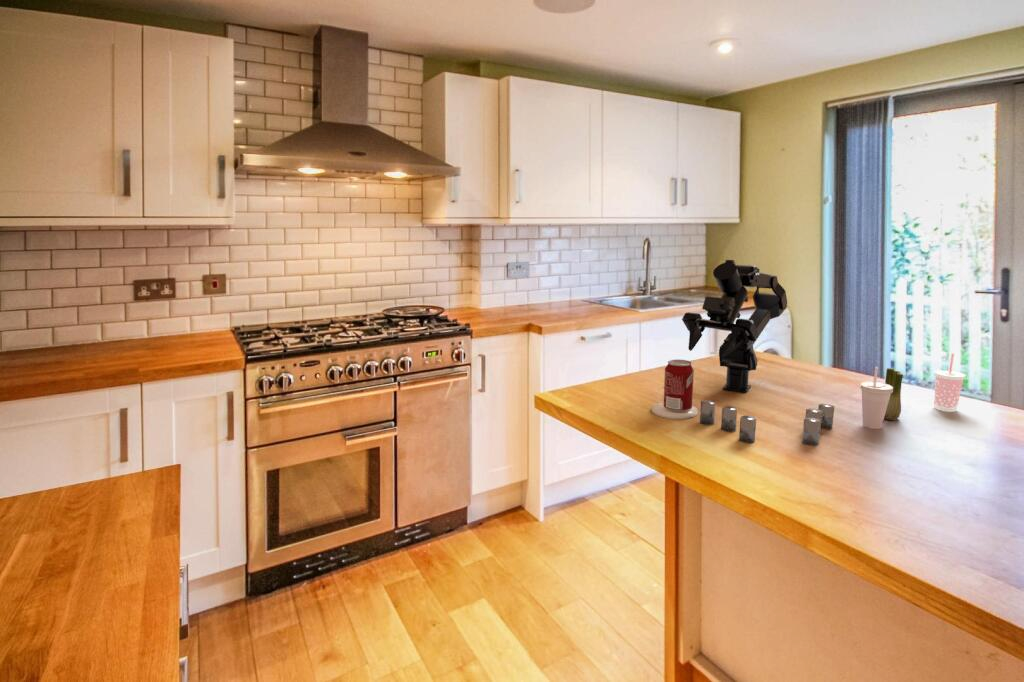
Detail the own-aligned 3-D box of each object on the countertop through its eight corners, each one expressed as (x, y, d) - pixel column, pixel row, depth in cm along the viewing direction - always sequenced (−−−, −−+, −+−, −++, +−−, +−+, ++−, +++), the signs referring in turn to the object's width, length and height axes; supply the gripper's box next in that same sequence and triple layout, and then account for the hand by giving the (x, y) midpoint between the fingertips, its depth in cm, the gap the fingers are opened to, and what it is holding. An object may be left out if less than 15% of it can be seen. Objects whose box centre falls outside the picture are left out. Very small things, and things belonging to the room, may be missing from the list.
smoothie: (849, 422, 142) (856, 363, 139) (875, 421, 142) (882, 362, 139) (867, 431, 136) (874, 371, 133) (895, 430, 136) (902, 370, 133)
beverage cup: (933, 403, 155) (940, 349, 152) (962, 408, 150) (970, 353, 148) (927, 408, 150) (934, 353, 148) (957, 414, 146) (965, 357, 143)
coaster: (659, 402, 158) (659, 399, 158) (702, 409, 152) (702, 406, 152) (645, 414, 149) (645, 411, 149) (690, 422, 143) (690, 418, 143)
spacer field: (698, 420, 144) (699, 400, 143) (829, 424, 140) (831, 403, 139) (709, 441, 131) (710, 419, 130) (853, 446, 127) (856, 424, 126)
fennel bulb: (899, 423, 140) (906, 373, 138) (875, 420, 143) (881, 370, 140) (899, 416, 145) (905, 367, 143) (875, 413, 148) (881, 365, 145)
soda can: (680, 415, 145) (682, 367, 143) (657, 409, 150) (659, 361, 148) (697, 409, 149) (699, 362, 147) (674, 403, 155) (676, 357, 152)
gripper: (687, 281, 160) (662, 328, 155) (756, 287, 147) (731, 339, 142) (701, 308, 167) (677, 353, 162) (768, 315, 154) (744, 365, 149)
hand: (705, 352), depth 153 cm, fingers open, 9 cm apart
